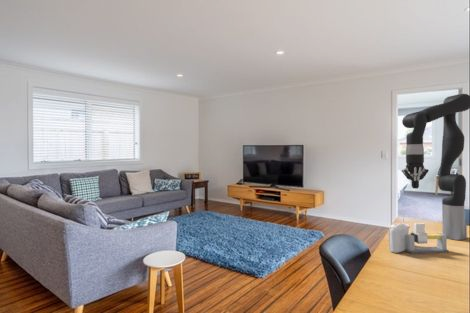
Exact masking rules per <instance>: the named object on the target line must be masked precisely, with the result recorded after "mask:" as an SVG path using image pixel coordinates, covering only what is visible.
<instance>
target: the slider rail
mask: <svg viewBox="0 0 470 313" xmlns="http://www.w3.org/2000/svg"><path fill="white" fill-rule="evenodd" d="M427 240H436V241H437V243H436V244H437V245H436V246H422V247H421V246H420V247H419V246H418V247H415V243H416V242H418V235H417V234H414V233H412V232H410V234H409V233H408V234H406V250H404V252H407V253H410V255H419V254H441V253H442V254H444V253H445V254H447V253H449V249H447V242H448V241H447V240H448V238H447V237H446V235H445V234H443V232H441V233H436V234H433V233H432V234H427Z"/></svg>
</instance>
